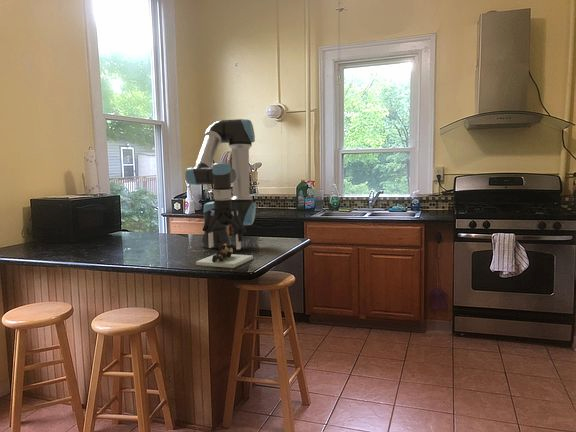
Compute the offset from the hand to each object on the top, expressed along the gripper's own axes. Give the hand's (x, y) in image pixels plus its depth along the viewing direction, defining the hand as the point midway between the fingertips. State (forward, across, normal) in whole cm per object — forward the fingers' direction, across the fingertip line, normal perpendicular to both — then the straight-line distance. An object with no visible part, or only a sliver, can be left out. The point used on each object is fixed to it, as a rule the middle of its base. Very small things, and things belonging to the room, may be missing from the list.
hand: (224, 248), depth 197 cm
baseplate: (+6, 0, 0) cm, 6 cm away
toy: (+5, 0, -2) cm, 5 cm away
